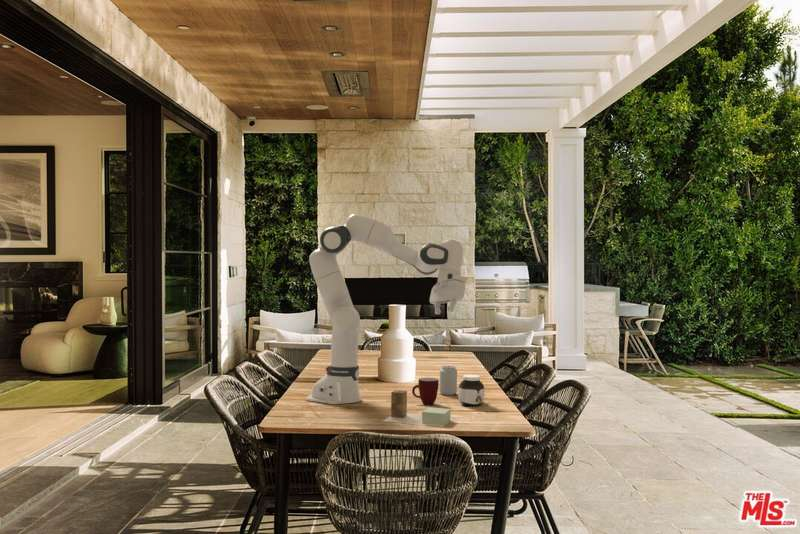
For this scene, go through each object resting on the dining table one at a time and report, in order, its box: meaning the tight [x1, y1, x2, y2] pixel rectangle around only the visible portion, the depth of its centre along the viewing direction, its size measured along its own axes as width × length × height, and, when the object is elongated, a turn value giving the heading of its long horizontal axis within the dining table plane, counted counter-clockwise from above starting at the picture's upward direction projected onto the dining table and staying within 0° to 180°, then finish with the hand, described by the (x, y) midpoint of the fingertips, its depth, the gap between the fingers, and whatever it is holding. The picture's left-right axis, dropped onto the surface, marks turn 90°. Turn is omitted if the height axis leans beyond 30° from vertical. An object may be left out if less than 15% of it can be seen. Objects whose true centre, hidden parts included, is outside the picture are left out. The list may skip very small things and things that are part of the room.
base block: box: [421, 407, 451, 426], centre depth 240 cm, size 8×8×4 cm
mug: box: [411, 377, 440, 406], centre depth 275 cm, size 10×8×10 cm
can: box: [439, 365, 458, 396], centre depth 296 cm, size 8×8×12 cm
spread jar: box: [457, 374, 486, 408], centre depth 277 cm, size 12×11×12 cm
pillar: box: [390, 389, 408, 418], centre depth 248 cm, size 4×4×9 cm
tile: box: [382, 412, 454, 428], centre depth 244 cm, size 22×15×1 cm
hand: (443, 312), depth 272 cm, fingers open, 8 cm apart
